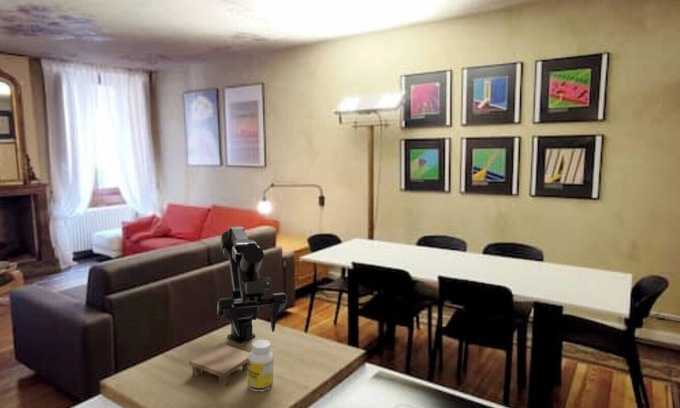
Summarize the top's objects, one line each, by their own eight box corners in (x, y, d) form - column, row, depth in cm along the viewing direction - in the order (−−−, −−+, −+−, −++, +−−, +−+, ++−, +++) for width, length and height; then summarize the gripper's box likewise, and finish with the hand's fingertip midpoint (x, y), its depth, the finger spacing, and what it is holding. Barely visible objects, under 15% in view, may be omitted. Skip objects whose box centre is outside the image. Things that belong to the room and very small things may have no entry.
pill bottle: (245, 381, 118) (245, 339, 116) (269, 377, 120) (270, 336, 118) (250, 394, 112) (251, 351, 110) (275, 390, 114) (276, 347, 113)
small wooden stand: (189, 374, 120) (189, 360, 119) (220, 356, 130) (220, 343, 129) (223, 388, 114) (223, 373, 114) (253, 367, 125) (253, 354, 124)
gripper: (218, 269, 118) (223, 326, 110) (286, 265, 125) (296, 317, 117) (214, 288, 127) (219, 342, 118) (279, 283, 134) (288, 333, 125)
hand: (256, 333), depth 119 cm, fingers open, 9 cm apart
